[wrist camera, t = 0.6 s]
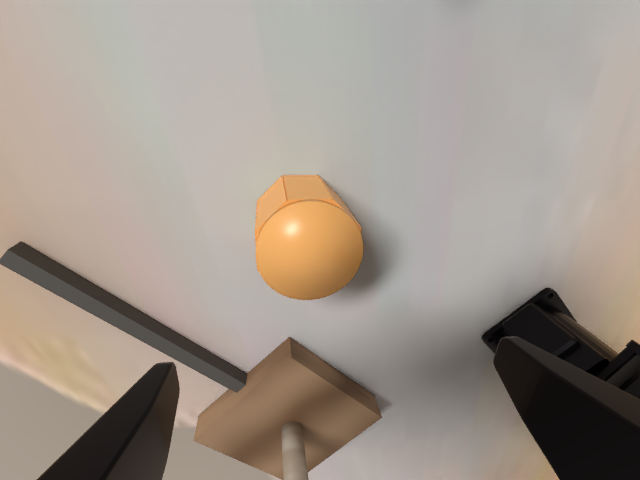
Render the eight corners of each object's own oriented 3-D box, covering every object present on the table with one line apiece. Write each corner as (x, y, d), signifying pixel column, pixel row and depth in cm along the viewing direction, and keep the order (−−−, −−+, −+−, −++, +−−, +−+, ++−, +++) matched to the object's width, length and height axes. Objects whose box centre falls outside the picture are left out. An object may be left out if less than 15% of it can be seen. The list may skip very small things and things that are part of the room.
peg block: (374, 395, 27) (401, 471, 22) (290, 459, 29) (296, 543, 24) (289, 336, 23) (296, 411, 18) (198, 415, 25) (180, 504, 20)
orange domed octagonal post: (357, 215, 20) (384, 252, 15) (299, 267, 21) (309, 316, 16) (300, 156, 18) (312, 179, 13) (239, 217, 19) (232, 258, 14)
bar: (246, 373, 24) (246, 384, 23) (237, 381, 24) (236, 392, 23) (21, 241, 18) (7, 249, 17) (10, 253, 18) (-3, 262, 17)
